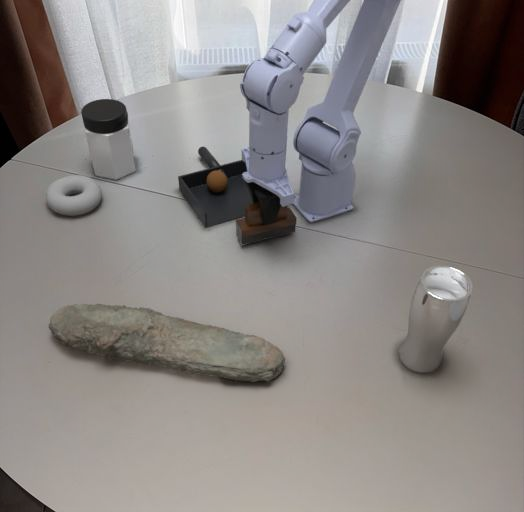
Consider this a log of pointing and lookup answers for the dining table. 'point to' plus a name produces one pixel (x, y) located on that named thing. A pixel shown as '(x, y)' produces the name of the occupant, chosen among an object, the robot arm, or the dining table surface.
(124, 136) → the jar
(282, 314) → the dining table surface
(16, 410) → the dining table surface
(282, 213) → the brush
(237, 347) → the elongated rock
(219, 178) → the cork ball
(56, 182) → the donut
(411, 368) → the beer glass
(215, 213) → the dustpan
